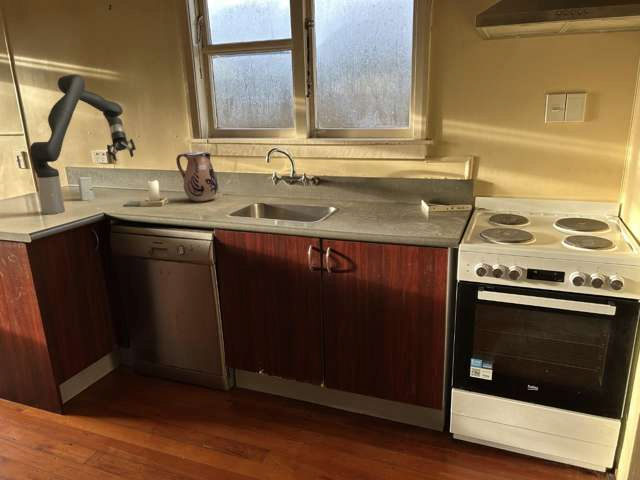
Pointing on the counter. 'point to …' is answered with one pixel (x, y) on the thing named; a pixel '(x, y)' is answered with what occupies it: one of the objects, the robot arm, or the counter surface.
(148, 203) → the dispenser tray
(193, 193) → the ceramic pitcher
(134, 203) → the tear pad
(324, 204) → the counter surface
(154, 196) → the white pillar candle
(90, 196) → the skincare box
